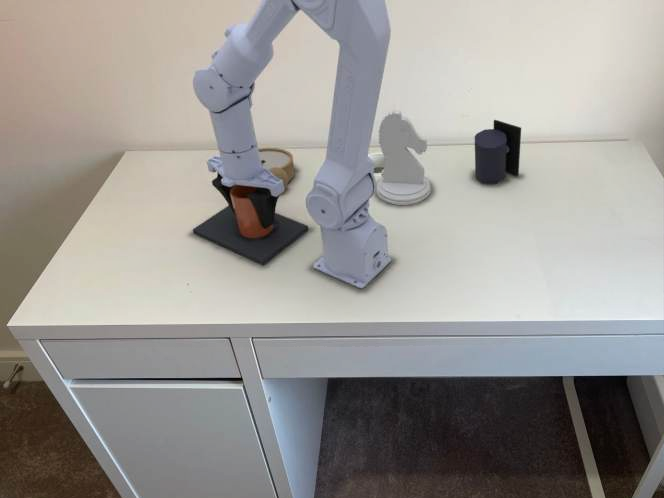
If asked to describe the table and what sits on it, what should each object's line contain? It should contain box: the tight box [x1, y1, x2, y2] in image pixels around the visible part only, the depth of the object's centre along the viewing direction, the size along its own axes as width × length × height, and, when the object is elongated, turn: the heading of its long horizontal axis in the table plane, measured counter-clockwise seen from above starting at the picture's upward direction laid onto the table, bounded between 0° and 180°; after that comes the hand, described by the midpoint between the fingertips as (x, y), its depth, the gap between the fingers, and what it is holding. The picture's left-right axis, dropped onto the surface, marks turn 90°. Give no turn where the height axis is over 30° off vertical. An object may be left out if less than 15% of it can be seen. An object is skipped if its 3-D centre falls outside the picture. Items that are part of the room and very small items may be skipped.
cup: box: [230, 185, 273, 238], centre depth 93 cm, size 6×6×8 cm
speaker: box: [474, 119, 522, 185], centre depth 103 cm, size 8×6×10 cm
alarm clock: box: [258, 147, 296, 190], centre depth 107 cm, size 11×5×15 cm
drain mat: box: [192, 205, 309, 266], centre depth 96 cm, size 16×11×1 cm
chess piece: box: [375, 109, 432, 206], centre depth 99 cm, size 10×10×15 cm
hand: (254, 219), depth 94 cm, fingers closed on cup, 6 cm apart
